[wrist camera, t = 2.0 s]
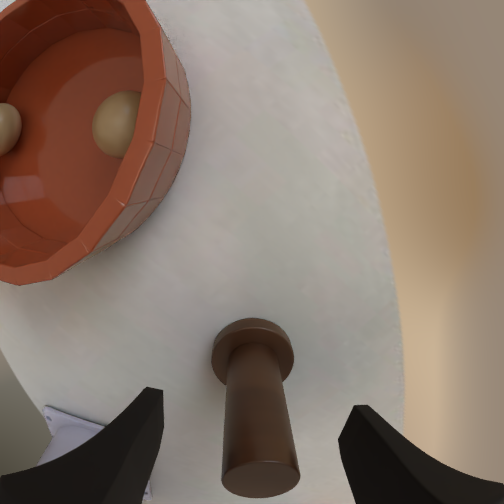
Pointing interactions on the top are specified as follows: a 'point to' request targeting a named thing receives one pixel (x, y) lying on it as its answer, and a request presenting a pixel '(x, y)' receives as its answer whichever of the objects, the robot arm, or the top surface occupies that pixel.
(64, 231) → the bowl
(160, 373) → the top surface
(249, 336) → the pestle
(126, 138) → the bead
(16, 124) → the bead
